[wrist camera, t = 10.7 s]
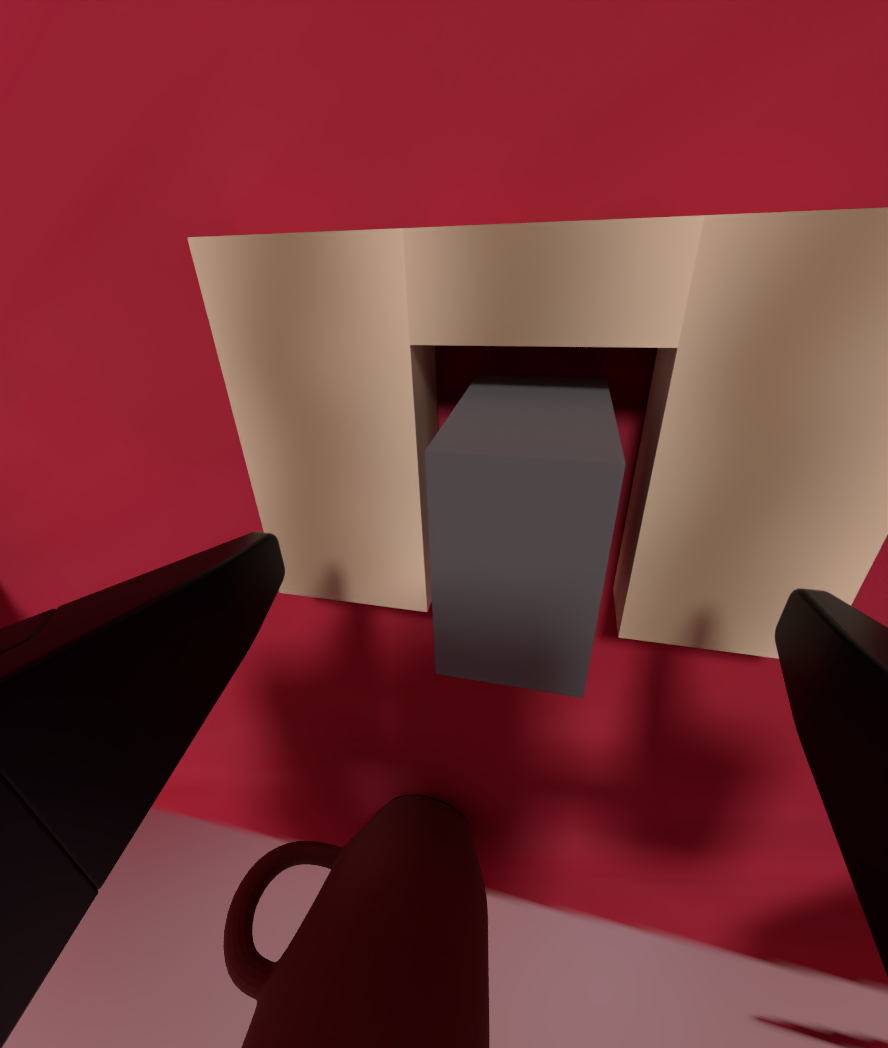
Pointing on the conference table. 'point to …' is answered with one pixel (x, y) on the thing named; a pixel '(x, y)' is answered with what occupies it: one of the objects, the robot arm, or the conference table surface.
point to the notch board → (576, 321)
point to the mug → (374, 940)
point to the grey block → (522, 529)
